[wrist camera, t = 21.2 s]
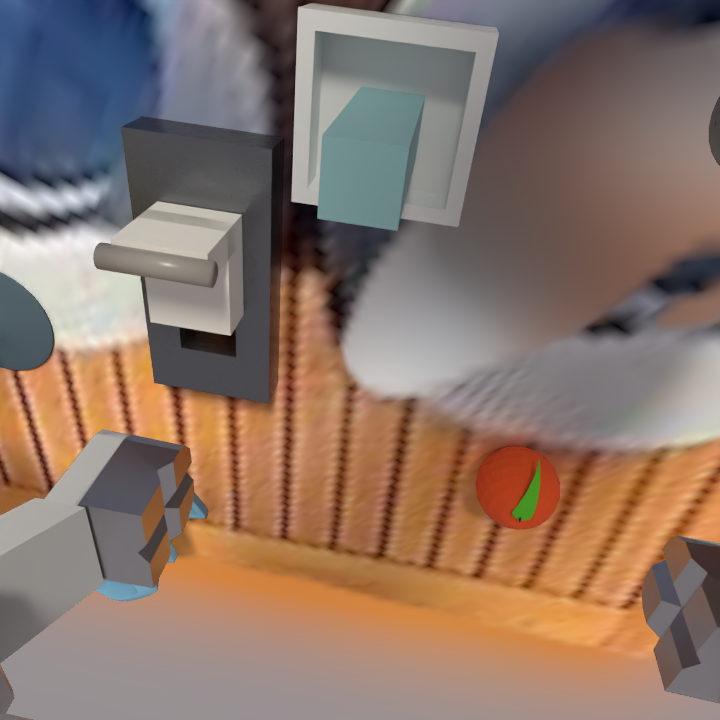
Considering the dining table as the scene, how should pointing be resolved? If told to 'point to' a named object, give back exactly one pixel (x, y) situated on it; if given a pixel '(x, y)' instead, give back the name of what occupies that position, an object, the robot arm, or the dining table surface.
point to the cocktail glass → (22, 328)
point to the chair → (136, 592)
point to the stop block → (370, 158)
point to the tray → (395, 73)
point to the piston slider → (183, 265)
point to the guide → (259, 238)
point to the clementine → (518, 487)
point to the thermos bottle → (715, 132)
